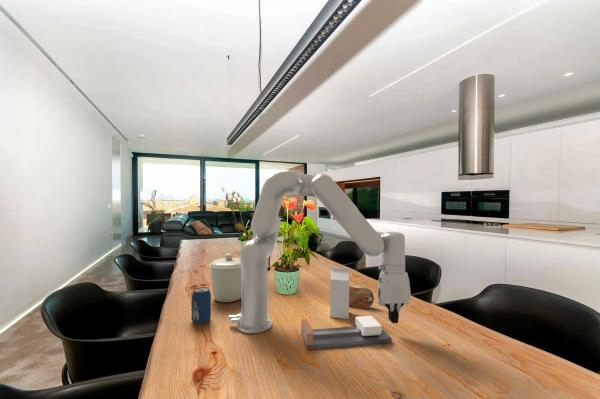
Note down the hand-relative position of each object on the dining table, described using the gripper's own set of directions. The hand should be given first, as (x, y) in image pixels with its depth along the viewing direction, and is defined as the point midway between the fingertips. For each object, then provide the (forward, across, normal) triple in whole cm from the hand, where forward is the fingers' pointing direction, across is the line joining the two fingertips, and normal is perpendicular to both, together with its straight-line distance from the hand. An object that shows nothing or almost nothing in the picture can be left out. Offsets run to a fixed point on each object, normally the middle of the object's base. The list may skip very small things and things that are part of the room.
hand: (393, 321), depth 95 cm
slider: (+3, -9, 0) cm, 10 cm away
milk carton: (+5, -13, +19) cm, 24 cm away
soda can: (+4, -67, +21) cm, 71 cm away
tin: (+5, -3, +27) cm, 28 cm away
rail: (+4, -17, 0) cm, 18 cm away
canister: (+4, -59, +44) cm, 74 cm away
